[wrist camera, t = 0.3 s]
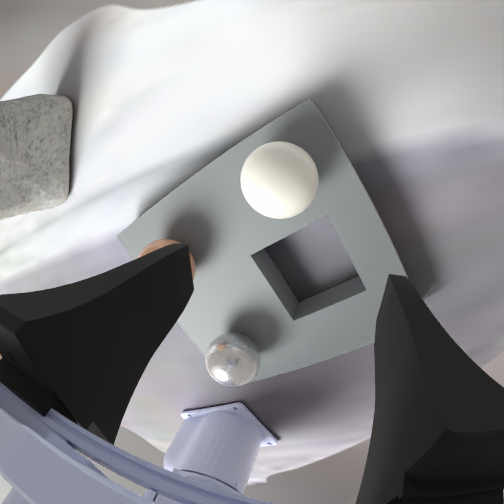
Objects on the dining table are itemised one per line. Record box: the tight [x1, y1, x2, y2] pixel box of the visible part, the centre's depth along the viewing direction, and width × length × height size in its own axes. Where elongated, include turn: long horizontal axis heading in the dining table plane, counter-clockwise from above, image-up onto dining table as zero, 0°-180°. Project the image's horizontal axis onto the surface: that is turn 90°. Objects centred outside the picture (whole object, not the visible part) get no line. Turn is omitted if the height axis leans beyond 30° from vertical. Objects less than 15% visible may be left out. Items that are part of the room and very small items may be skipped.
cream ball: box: [240, 141, 319, 219], centre depth 16 cm, size 4×4×4 cm
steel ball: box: [205, 332, 261, 387], centre depth 22 cm, size 4×4×4 cm
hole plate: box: [117, 98, 411, 383], centre depth 22 cm, size 17×16×2 cm
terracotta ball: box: [138, 239, 196, 281], centre depth 20 cm, size 4×4×4 cm
